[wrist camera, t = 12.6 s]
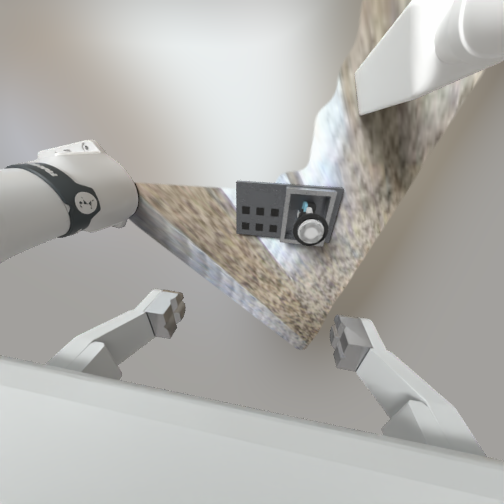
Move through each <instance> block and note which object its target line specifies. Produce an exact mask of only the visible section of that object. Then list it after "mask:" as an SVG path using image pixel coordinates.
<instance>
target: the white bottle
mask: <svg viewBox="0 0 504 504" xmlns="http://www.w3.org/2000/svg"><path fill="white" fill-rule="evenodd" d="M502 61H504V0H412V1H411V2H410V3H409V5H408V6H407V7H406V9H405V10H404V11H403V12H402V14H401V15H400V16H399V17H398V19H397V20H396V21H395V22H394V24H393V25H392V26H391V28H390V29H389V30H388V31H387V33H386V34H385V35H384V36H383V38H382V39H381V40H380V42H379V43H378V44H377V45H376V47H375V48H374V49H373V50H372V52H371V53H370V54H369V56H368V57H367V58H366V59H365V61H364V62H363V63H362V64H361V66H360V67H359V68H358V70H357V71H356V72H355V83H356V91H357V100H358V109H359V115H365V114H368V113H371V112H374V111H378V110H381V109H384V108H387V107H391V106H394V105H397V104H401V103H404V102H407V101H410V100H414V99H417V98H419V97H421V96H424V95H426V94H428V93H431V92H433V91H435V90H437V89H439V88H442V87H444V86H446V85H448V84H451V83H453V82H455V81H458V80H460V79H462V78H465V77H467V76H469V75H472V74H474V73H476V72H479V71H481V70H484V69H486V68H488V67H491V66H493V65H495V64H498V63H500V62H502Z"/></svg>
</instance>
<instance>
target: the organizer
mask: <svg viewBox="0 0 504 504" xmlns="http://www.w3.org/2000/svg"><path fill="white" fill-rule="evenodd" d="M236 183H237V184H236V204H237V234H247V235H257V236H267V237H277V238H280V242H284V243H293V244H300V243H299V242H298V241H297V240H296V239H295V237H294V235H293V227H294V224H295V222H296V221H297V219H298V217H297V213H298V210H299V212H300V211H301V209H302V206H303V202H304V201H306V202H313V203H315V204H316V210H315V213H314V214H318V215H320V216H322V217H323V218H324V219H325V220H326V222H327V224H328V234H327V236H326V238H325V239H324V240H323V241H322V242H320V243H319V244H316V245H313V246H322V247H323V245H324V242H326V243H329V241H330V237H331V234H332V230H333V226H334V223H335V219H336V216H337V212H338V209H339V205H340V201H341V198H342V194H343V191H344V189H343V188H340V187H325V186H310V185H295V184H281V183H265V182H250V181H237V182H236ZM319 222H321V221H320V220H319ZM321 223H322V222H321ZM322 225H323V224H322ZM297 233H298V228H297Z"/></svg>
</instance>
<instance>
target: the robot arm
mask: <svg viewBox="0 0 504 504" xmlns="http://www.w3.org/2000/svg"><path fill="white" fill-rule="evenodd" d="M88 148H89V149H88ZM137 206H138V194H137V190H136V187H135V184H134V182H133V180H132V178H131V177H130V175H129V174H128V172H127V171H126V170H125V169H124V167H123V166H122V165H121V164H119V163H118V162H117V161H116V160H114V159H113V158H112V157H110V156H109V155H107V154H106V153H105V151H104V150H103V149H102V148H101V146H100V145H99V144H98V143H97V142H96V141H94V140H86V141H81V142H77V143H73V144H69V145H64V146H60V147H56V148H52V149H47V150H43V151H40V152H38V159H37V160H33V161H29V162H26V163H19V164H15V165H11V166H7V167H6V168H4V169H0V263H2V262H4V261H5V260H7V259H9V258H11V257H13V256H15V255H17V254H19V253H22V252H24V251H26V250H28V249H30V248H33V247H35V246H38V245H40V244H42V243H45V242H47V241H49V240H52V239H54V238H62V237H66V236H70V235H74V234H76V233H78V232H80V231H82V230H83V231H88V232H90V233H93V232H96V231H99V230H102V229H105V228H108V227H110V226H113V227H116V228H122V227H124V226H125V225H126V222H127V219H128V218H129V217H130V216H132V215H133V214H134V213H135V211H136V209H137ZM183 298H184V297H183V294H182V293H180V292H175V291H169V290H162V289H153V290H152V291H151V292H150V293H149V294H148V295H147V296H146V298H145V299H144V300H143V301H142V302H141V303H140V304H139V305H138V306H137V307H136V308H135V310H130V311H128V312H126V313H124V314H121V315H120V316H117V317H115V318H113V319H111V320H109V321H107V322H105V323H103V324H101V325H99V326H97V327H95V328H92V329H91V330H89V331H87V332H84V333H82V334H80V335H78V336H76V337H75V338H74V339H73V340H71V341H70V342H69V343H68V344H67V345H66V346H65V347H64V348H62V350H60V351H59V352H58V353H57V354H56V355H55V356H54V357H53V358H51V359H50V360H49V361H48V362H47V363H46V364H40V363H36V362H31V361H26V360H21V359H16V358H11V357H7V356H2V355H0V504H504V461H503V460H498V459H494V458H489V457H487V456H486V454H485V453H484V451H483V450H482V448H481V447H480V445H479V444H478V442H477V441H476V439H475V438H474V436H473V434H472V433H471V431H470V430H469V428H468V427H467V425H466V424H465V422H464V421H463V419H462V418H461V416H460V414H459V413H458V411H457V410H456V408H455V407H454V406H453V405H452V404H450V403H449V402H448V401H447V400H446V399H445V398H444V397H442V396H441V395H440V394H439V393H438V392H437V391H435V390H434V389H433V388H432V387H431V386H430V385H429V384H427V383H426V382H425V381H424V380H423V379H422V378H421V377H419V376H418V375H417V374H416V373H415V372H413V370H411V369H410V368H409V367H408V366H407V365H406V364H405V363H403V362H402V361H401V360H400V359H399V358H398V357H397V356H395V355H394V354H393V353H392V352H391V351H387V350H386V348H385V346H384V344H383V342H382V340H381V338H380V336H379V334H378V332H377V330H376V328H375V326H374V324H373V322H372V321H371V320H370V319H365V318H358V317H351V316H343V315H336V317H335V319H334V321H335V324H334V325H332V327H331V330H330V341H331V345H332V346H333V348H334V349H335V351H334V358H335V363H336V366H337V368H340V369H345V370H350V371H355V372H356V374H357V375H358V376H359V378H360V379H361V380H362V382H363V383H364V384H365V385H366V387H367V388H368V389H369V391H370V392H371V394H372V395H373V396H374V398H375V399H376V400H377V401H378V403H379V404H380V405H381V407H382V408H383V409H384V411H385V412H386V413H387V415H388V416H389V417H390V420H389V421H388V422H387V423H386V424H385V425H384V426H383V427H382V429H381V430H382V432H383V435H379V434H374V433H370V432H365V431H360V430H355V429H350V428H346V427H341V426H336V425H331V424H327V423H322V422H317V421H312V420H307V419H303V418H298V417H293V416H289V415H284V414H279V413H274V412H270V411H265V410H260V409H255V408H251V407H246V406H241V405H236V404H231V403H227V402H221V401H217V400H212V399H207V398H202V397H198V396H193V395H188V394H184V393H179V392H174V391H169V390H165V389H160V388H155V387H150V386H146V385H141V384H136V383H131V382H126V381H122V380H120V378H121V377H122V372H121V370H120V369H119V367H118V365H119V364H120V363H121V362H123V361H124V360H126V359H127V358H128V357H130V356H131V355H132V354H134V353H135V352H136V351H137V350H139V349H140V348H141V347H143V346H144V345H146V344H147V343H148V342H149V341H151V340H152V339H154V338H155V337H162V338H169V339H170V338H171V337H172V335H173V333H174V332H175V330H176V328H177V325H176V324H177V323H178V322H180V321H181V320H182V318H183V317H184V313H185V303H184V302H183V301H182V299H183Z"/></svg>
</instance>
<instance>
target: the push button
mask: <svg viewBox="0 0 504 504" xmlns="http://www.w3.org/2000/svg"><path fill="white" fill-rule="evenodd" d="M315 210H316V204H315V203H313V202H306V201H304V202H303V206H302V209H301V211H300V212H299V210H298V213H297V217H298V219H297V221H296V222H295V224H294V227H293V235H294V237H295V239H296V240H297V241H298V242H299V243H300V244H302V245H306V246H312V245H316V244H319V243H320V242H322V241H323V240H324V239H325V238H326V236H327V234H328V224H327V222H326V220H325V219H324V218H323V217H322V216H320V215H318V214H314V213H315ZM319 220H320V221H321V222H322V223H321V222H319ZM322 224H323V225H322ZM297 228H298V233H297Z"/></svg>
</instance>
